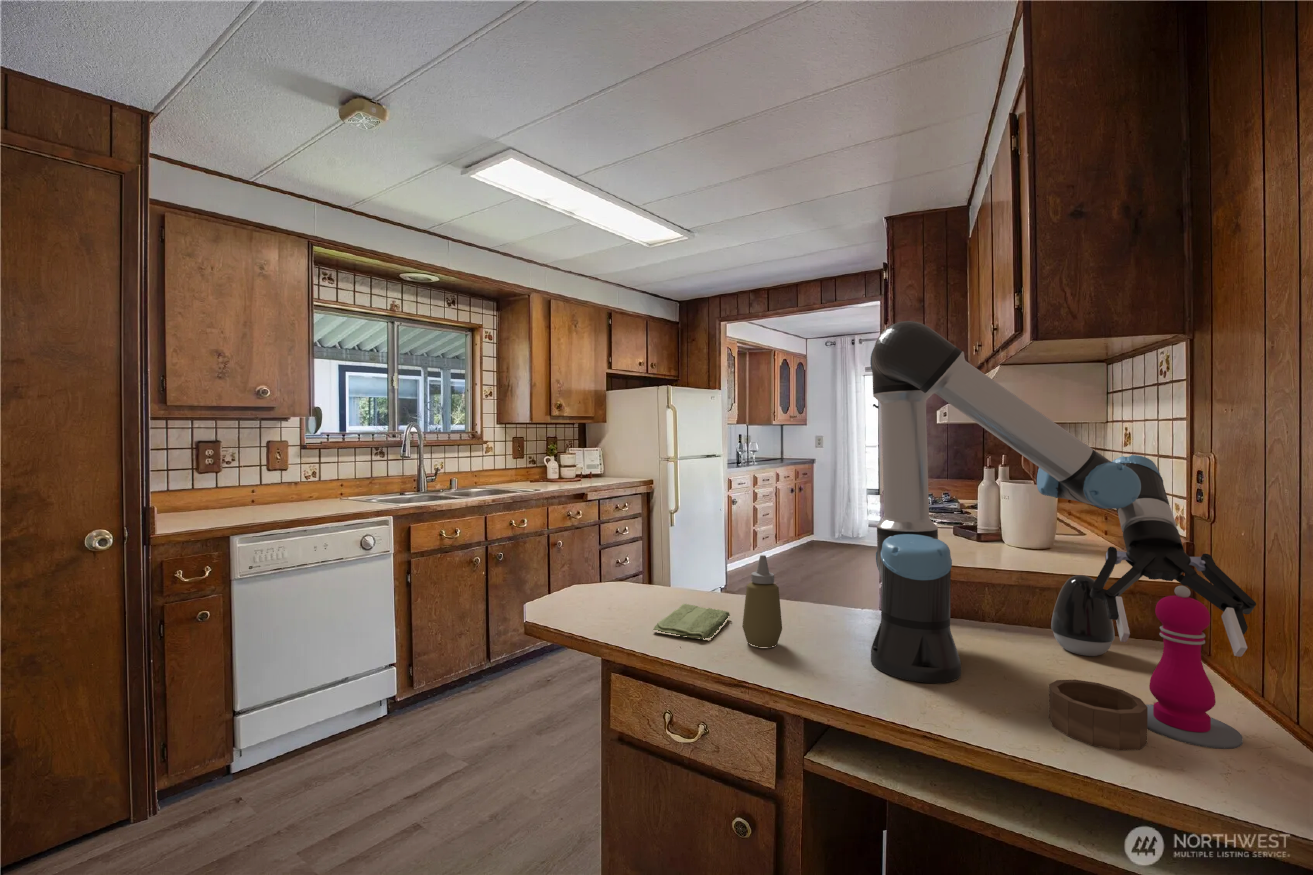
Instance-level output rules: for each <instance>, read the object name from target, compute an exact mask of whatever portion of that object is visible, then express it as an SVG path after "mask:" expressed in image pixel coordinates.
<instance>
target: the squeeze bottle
mask: <svg viewBox="0 0 1313 875" xmlns="http://www.w3.org/2000/svg"><path fill="white" fill-rule="evenodd" d="M750 574H751V578H750V581H751V582H749V583H748V584H746V591H745V596H744V597H745V599H744V607H743V619H742V630H743V633H744V636H745V639H746V640H745V641H746V642H748V643H750V644H752V645H755V646H758V647H772V646H775V645H776V644H777V645H778V643H779V640H780V637H781V634H782V631H783V624H782V622H783V621H782V612H781V601H780V589H779V588H780V587H779V586H778V585H777V584H776V583H775V574H774V573H773V572H770V569H769V565H768V560H767V555H764V554H763V555H762V554H761V555H759V558H758V563H757V568H756V570H755V571H753V572H750ZM748 643H747V644H748ZM775 647H776V646H775Z"/></svg>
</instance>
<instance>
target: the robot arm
mask: <svg viewBox="0 0 1313 875" xmlns="http://www.w3.org/2000/svg"><path fill="white" fill-rule="evenodd" d="M869 360H870V369H871V372H872V373H871V374H872V396H873V398H874V399H876V400H877V401H878V402H879V403H880V410H881V411H880V412H881V414H880V415H881V448H882V452H881V453H882V454H881V455H882V481H883V482H882V484H883V486H882V487H883V491H882V492H883V517H882V519H881V520H880V521H879V522H878V523H877V524H876V542H877V543H876V545H877V548H876V551H875V562H876V567H877V570H878V572H879V575H880V578H881V580H880V582H881V583H880V584H881V588H880V589H881V590H880V591H881V594H880V596H881V598H880V599H881V601H880V602H881V604H880V606H881V607H880V610H881V611H880V612H881V613H880V614H881V615H880V623H879V626H878V628H877V631H876V633H875V636H874V639H873V642H872V646H871V648H870V662H871V664H872V666H873V667H874V668H876V669H877V670H879V671H880V672H882V673H885V674H886V675H889V676H891V677H895V678H898V679H901V680H906V681H911V682H917V683H925V684H942V683H943V684H944V683H950V682H953V681H956V680H958V679H959V678H961V675H962V662H961V659H960V655H959V652H958V649H957V646H956V643H955V640H954V637H953V634H952V631H951V588H952V587H951V581H952V580H951V578H952V577H951V576H952V574H951V572H952V565H953V559H952V557H951V556H952V555H951V548H949V546H948V544H947V543H945V541H942V540H941V539H939V529H938V528H939V527H938V525H937V524H935V523H934V522H933V521H932V519H930V504H929V503H930V500H929V466H928V464H929V463H928V461H929V460H928V435H927V434H928V433H927V432H928V430H927V429H928V428H927V402H928V401H927V400H928V399H930V398H931V396H933V395H934V394H935V395H936V396H938V397H939V398H941V399H942V400H943V401H945V402H946V403H948V404H949V405H950V406H952V407H953V408H955V409H957V410H958V411H959V412H960V413H962V414H964V415H965V416H966V417H967V418H969V419H970V420H972V421H973V422H975V423H976V424H977V425H979V426H981V428H983V429H984V430H986V431H987V432H989V433H990V434H991V435H993V436H994V437H996V438H997V439H998V440H1000V441H1002V442H1003V443H1004V444H1005V445H1007V446H1008V447H1010V448H1011V449H1013V450H1014V451H1016V452H1017V453H1018V454H1020V455H1022V456H1023V457H1024V458H1026V459H1027V460H1028V461H1029V462H1031V463H1032V464H1034V465H1035V466H1037V467H1038V470H1037V475H1036V487H1037V490H1038V492H1039V493H1040V494H1041V495H1043V496H1046V497H1053V498H1055V499H1063V500H1064V499H1065V500H1071V501H1076V502H1079V503H1084V504H1088V505H1091V506H1094V507H1096V508H1099V509H1105V510H1106V509H1113V510H1114V509H1115V510H1116V512H1117V515H1118V520H1119V525H1120V529H1121V531H1122V537H1123V541H1124V545H1125V546H1124V547H1125V550H1126V551H1120V550H1117V548H1116V547H1114V546H1109V547H1108V548H1107V551H1106V553H1105V557H1104V558H1105V562H1104V565H1103V566H1102V568H1101V570H1100V572H1099V573H1098V575H1097V577H1096V579H1095V580H1096V581H1095V582H1094V584H1093V586H1092V589H1091V592H1090V596H1091V597H1092V598H1094V599H1097V598H1099V599H1101V600H1103V604H1104V605H1106V610H1107V615H1108V617H1109V619H1112V621H1113V620H1114V621H1116V627H1117V632H1118V633H1117V634H1118V636H1119V641H1120V642H1121V643H1122V642H1123V643H1127V641H1128V639H1129V638H1130V635H1131V633H1130V632H1131V631H1130V628H1129V623H1128V619H1127V614H1126V611H1125V610H1126V609H1125V606H1124V601H1123V597H1122V596H1121V595H1122V594H1123V593H1124V592H1126V591H1127V589H1129V588H1130V587H1131V586H1132V585H1133V584H1134V583H1136V582H1137V581H1139V580H1140V579H1141V578H1142V577H1146V578H1148V580H1154V581H1155V580H1162V581H1166V582H1167V581H1168V582H1173V581H1174V580H1175V581H1177V582H1178V583H1179V584H1181V586H1185V587H1187V588H1188V589H1191V590H1192V591H1194V592H1195V593H1197V594H1198V595H1199V596H1201V597H1202V598H1204V599H1205V600H1206V601H1208V602H1209V603H1210V604H1212V605H1213V606H1215V607H1217V609H1219V610H1221V612H1222V614H1221V616H1220V617H1221V620H1222V622H1223V626H1224V629H1225V632H1226V635H1227V639H1228V641H1229V643H1230V646H1231V649H1232V653H1233V656H1235V657H1241V658H1242V656H1243V655H1244V654H1245V652H1246V651H1247V649H1248V645H1247V643H1246V639H1245V637H1244V635H1245V634H1246V632H1247V631H1248V627H1249V626H1248V624H1247V621H1246V618H1245V615H1250V614H1251V613H1252V612H1253V610H1254V609H1255V607H1256V606H1257V602H1256V601H1255V600H1253V598H1252V597H1251V596H1249V595H1248V594H1247V593H1246V591H1244V590H1243V589H1242V588H1241V587H1240V586H1239V585H1238V584H1237V583H1236V582H1235V581H1233V580H1232V579H1231V578H1230V577H1229V576H1228V575H1227V574H1226V573H1225V572H1224V571H1223V570H1222V569H1220V567H1219V566H1218V565H1217V563H1216V562H1215V560H1214V558H1213V557H1212V555H1211V554H1209V553H1207V552H1205V553H1202V554H1201V556H1189V555H1188V554H1187V553H1186V551H1185V548H1184V545H1183V542H1182V539H1181V536H1180V533H1179V530H1178V528H1177V527H1178V526H1177V522H1176V520H1175V516H1174V514H1173V511H1172V508H1171V506H1170V501H1169V499H1168V498H1169V497H1168V495H1167V493H1166V489H1165V486H1164V480H1163V477H1162V475H1161V473H1160V470H1159V469H1158V467H1157V464H1156V463H1155V461H1153V460H1152V459H1150V458H1149V457H1146V456H1143V455H1137V454H1132V455H1129V456H1123V455H1122V456H1119V457H1116V458H1114V459H1113V460H1112V461H1111V460H1109V458H1107V457H1106V456H1104V455H1102V454H1101V453H1099V452H1097V451H1096V450H1095V449H1093V448H1092V446H1089V445H1088V444H1087V443H1085V442H1083V441H1082V440H1080V439H1079V438H1077V436H1075V435H1073V434H1072V433H1071V432H1069V431H1067V430H1066V429H1065V428H1063V427H1062V426H1060V425H1059V424H1057V423H1056V422H1055V421H1053V420H1052V419H1050V418H1049V417H1047V416H1046V415H1044V414H1043V413H1042V412H1040V411H1039V410H1037V408H1034V407H1033V406H1032V405H1030V404H1029V403H1027V401H1024V400H1023V399H1022V398H1020V397H1018V395H1015V394H1014V393H1013V392H1011V391H1010V390H1008V389H1007V388H1005V387H1004V386H1003V385H1001V384H1000V383H998V382H997V381H996V380H994V379H993V378H991V377H990V376H988V375H987V374H985V372H982V371H981V370H980V369H978V367H977V368H976V367H975V366H974V365H972V364H971V363H969V362H968V361H967V360H966V359H965V352H964V351H963V350H961V349H960V348H958V347H957V345H956V346H955V345H954V344H953V343H952V342H950V341H948V339H946V338H944V337H943V335H941V334H939V333H938V332H936V331H935V330H934V329H932V328H931V327H930V326H928V325H926V324H924V323H921V322H918V321H914V320H905V321H898V322H896V323H894V324H891V325H890V326H888V327H886V328H885V329H884V330H883V331H881V333H880V334H879V335H878V337H877V338H876V340H875V343H874V347H873V349H872V351H871V354H870V359H869ZM1122 561H1125V562H1126V563H1128V564H1129V565H1130V566H1131V568H1130V569H1129V570H1128V571H1127V572H1126V573H1125V574H1123V575H1122V576H1120V578H1119V579H1117V581H1116V582H1114V583H1113V584H1112V585H1111V586H1110V587H1109V588H1108V589H1105V586H1106V584H1107V582H1108V580H1109V578H1110V577H1111V575H1112V573H1113V571H1114V568H1115V565H1118V564H1121V562H1122ZM1191 566H1193V567H1195V568H1192V567H1191ZM1195 569H1196V570H1195ZM1198 572H1201V573H1202V575H1203V576H1204V577H1205V578H1206V579H1205V578H1204V577H1202V576H1201V575H1199V574H1198ZM1183 573H1184V575H1183ZM1244 614H1245V615H1244Z"/></svg>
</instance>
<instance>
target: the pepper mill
mask: <svg viewBox="0 0 1313 875" xmlns="http://www.w3.org/2000/svg"><path fill="white" fill-rule="evenodd" d="M1190 596H1191V590H1190V588H1189V587H1188V586H1184V585H1178V586H1176V587H1175V588H1174V595H1167V596H1165V597H1162V598H1160V599H1159V600H1158V601H1157V603H1156V606H1155V609H1154V611H1155V613H1154V614H1155V616H1156V618H1157V619H1158V620H1159V622H1160V623H1161V626H1159V630H1160V631H1159V636H1160V637H1161V638H1162V642H1163V650H1162V655H1161V657H1160V660H1159V662H1158V663H1157V665H1156V666H1155V669H1154V670H1153V672H1152V674H1151V677H1150V679H1149V691H1150V693H1151V695H1152V696H1153V697H1154V698H1155V699H1156V700H1157V701H1156V702H1154V703H1153V705H1154V706H1153V715H1154V717H1155V718H1156V719H1157V720H1159V721H1160V722H1162V723H1164V724H1166V725H1169V726H1171V727H1174V728H1177V729H1181V730H1185V731H1191V732H1208V731H1209V730H1210V729H1211V718H1212V717H1211V716H1210V714H1208V713H1207V712H1209V711H1210V710H1212V709H1213V708H1214V707H1215V706H1216V702H1217V701H1216V694H1215V690H1214V687H1213V685H1212V683H1211V681H1210V679H1209V677H1208V676H1207V672H1206V671H1205V669H1204V665H1203V662H1202V652H1201V651H1202V645H1205V644H1206V640H1205V638H1206V634H1205V633H1204V632H1203V631H1204V630H1205V629H1207V628H1208V627H1209V626H1210V623H1211V614H1210V612H1209V609H1208V607H1206V605H1205V604H1204V603H1202V602H1201V601H1199V600H1197V599H1195V598H1192V597H1190Z"/></svg>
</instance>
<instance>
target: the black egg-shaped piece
mask: <svg viewBox="0 0 1313 875" xmlns="http://www.w3.org/2000/svg"><path fill="white" fill-rule="evenodd" d="M1095 581H1096V579H1093V578H1092V577H1090V576H1087V575H1083V574H1078V575H1077V574H1076V575H1072V576H1071V577H1070V578H1068V579H1067V580H1066V581H1065V583H1064V584H1063V585H1062V587H1061V589H1060V591H1059V593H1058V595H1057V599H1056V601H1055V605H1054V608H1053V611H1052V617H1051V625H1050V628H1051V631H1052V632H1053V636H1054V638H1055V640H1056V642H1057V643H1058V644H1059V645H1060V646H1061V648H1063V649H1064V650H1066V651H1067V652H1070V653H1072V654H1076V655H1080V656H1085V657H1098V656H1100V655H1101V656H1102V655H1104V654H1105V653H1106V652H1108V651H1109V649H1111V646H1112V644H1113V642H1114V640H1115V628H1114V621H1113V619H1109V617H1108V615H1107V610H1106V605H1104V604H1103V600H1101V599H1099V598H1097V599H1094V598H1092V597H1091V596H1090V592H1091V589H1092V586H1093V584H1094V582H1095Z"/></svg>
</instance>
